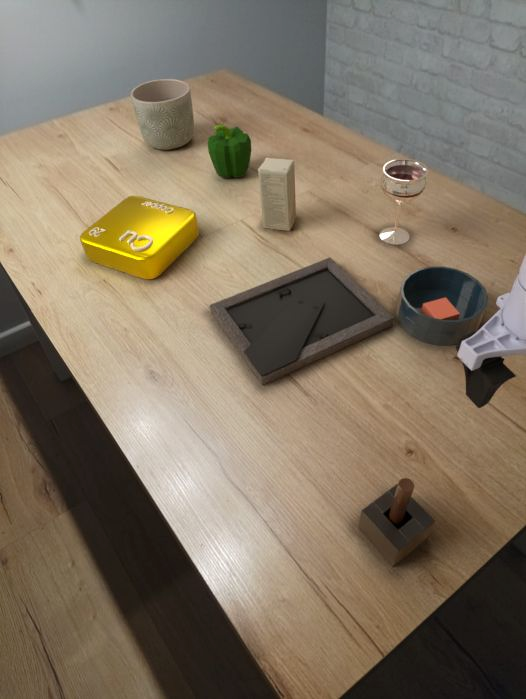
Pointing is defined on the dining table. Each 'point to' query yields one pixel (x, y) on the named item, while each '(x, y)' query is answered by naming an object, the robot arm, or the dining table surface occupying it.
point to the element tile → (140, 236)
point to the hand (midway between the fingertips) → (505, 386)
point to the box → (277, 193)
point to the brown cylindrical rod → (401, 501)
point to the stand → (386, 535)
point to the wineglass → (401, 192)
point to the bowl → (438, 285)
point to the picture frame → (299, 319)
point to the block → (440, 309)
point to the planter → (164, 112)
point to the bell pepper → (229, 151)
